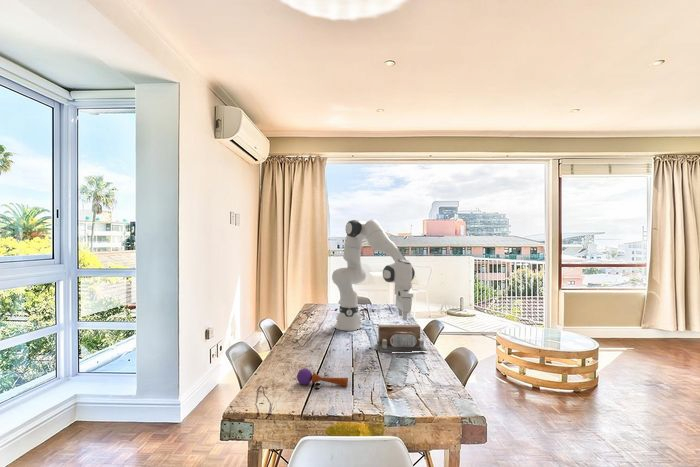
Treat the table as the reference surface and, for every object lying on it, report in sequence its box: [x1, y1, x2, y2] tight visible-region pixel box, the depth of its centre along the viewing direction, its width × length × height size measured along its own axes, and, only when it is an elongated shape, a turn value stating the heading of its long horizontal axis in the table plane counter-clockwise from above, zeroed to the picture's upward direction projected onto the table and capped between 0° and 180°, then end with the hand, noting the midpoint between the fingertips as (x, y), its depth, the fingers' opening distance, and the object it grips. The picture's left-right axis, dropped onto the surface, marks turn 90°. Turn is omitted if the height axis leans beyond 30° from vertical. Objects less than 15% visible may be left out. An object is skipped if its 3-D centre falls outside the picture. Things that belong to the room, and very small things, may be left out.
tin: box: [388, 331, 418, 347], centre depth 178 cm, size 15×3×8 cm, turn 89°
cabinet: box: [376, 324, 428, 354], centre depth 182 cm, size 16×23×10 cm
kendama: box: [296, 368, 349, 387], centre depth 136 cm, size 6×6×20 cm
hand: (402, 317), depth 179 cm, fingers open, 8 cm apart
